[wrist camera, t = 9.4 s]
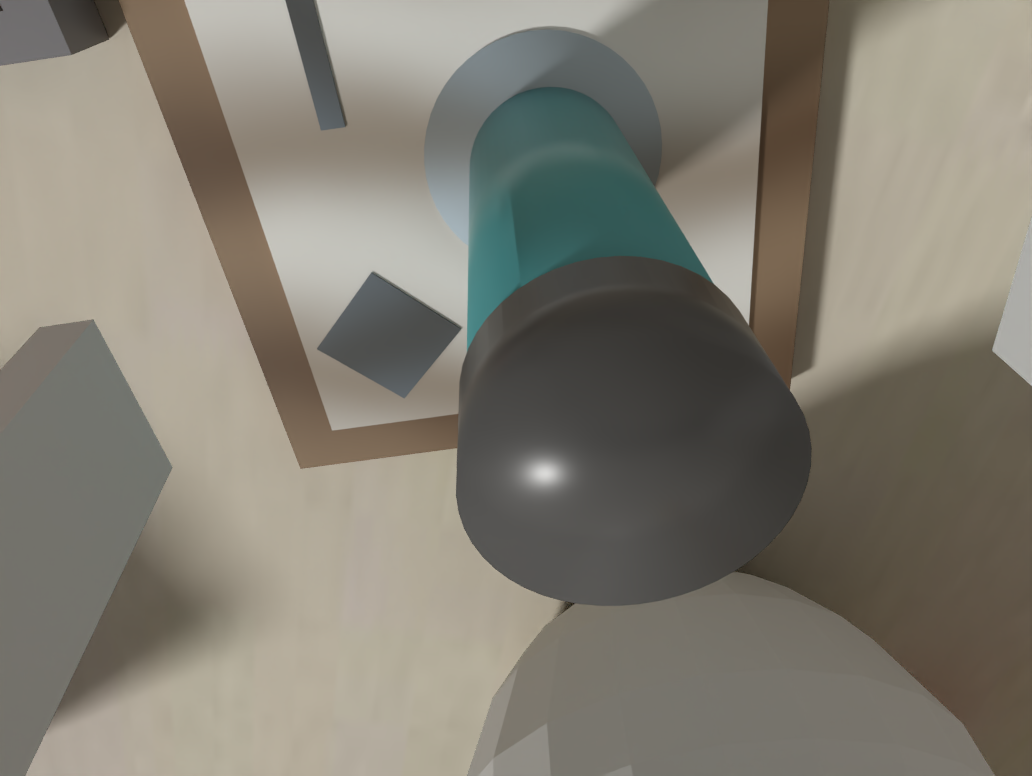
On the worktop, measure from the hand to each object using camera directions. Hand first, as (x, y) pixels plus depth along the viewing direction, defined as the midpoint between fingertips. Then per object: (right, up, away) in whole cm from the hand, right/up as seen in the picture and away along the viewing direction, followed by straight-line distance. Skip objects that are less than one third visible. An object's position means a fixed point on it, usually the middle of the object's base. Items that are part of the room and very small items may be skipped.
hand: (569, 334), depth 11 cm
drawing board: (-1, +6, +9) cm, 11 cm away
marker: (0, +5, +8) cm, 9 cm away
